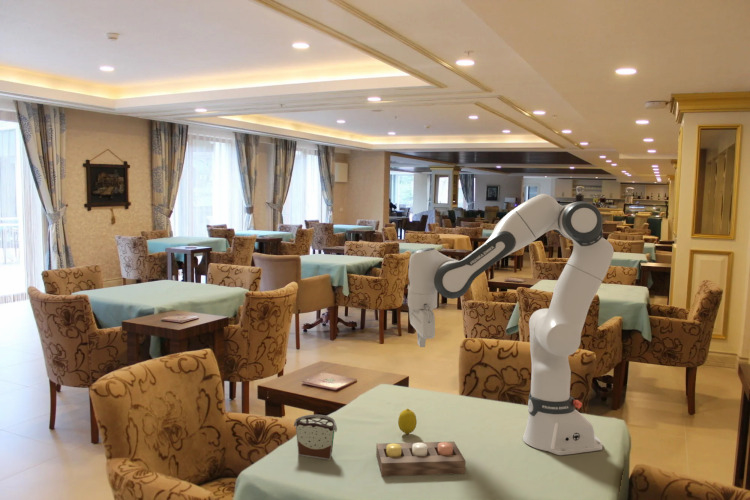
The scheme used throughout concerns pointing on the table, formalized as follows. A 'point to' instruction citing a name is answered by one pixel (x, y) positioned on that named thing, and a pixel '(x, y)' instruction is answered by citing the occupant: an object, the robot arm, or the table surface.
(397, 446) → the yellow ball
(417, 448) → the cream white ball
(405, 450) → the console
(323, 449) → the food container
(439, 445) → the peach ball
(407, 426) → the lemon
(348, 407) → the table surface
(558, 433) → the robot arm
